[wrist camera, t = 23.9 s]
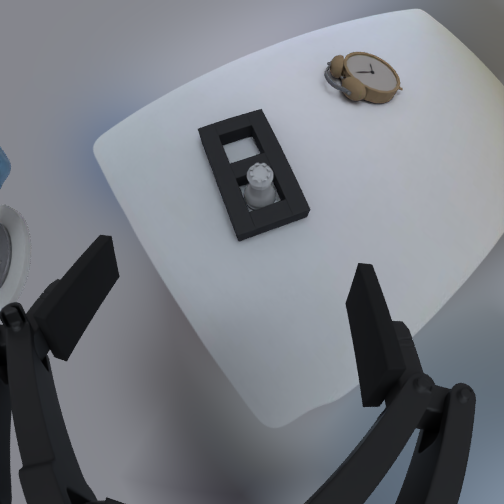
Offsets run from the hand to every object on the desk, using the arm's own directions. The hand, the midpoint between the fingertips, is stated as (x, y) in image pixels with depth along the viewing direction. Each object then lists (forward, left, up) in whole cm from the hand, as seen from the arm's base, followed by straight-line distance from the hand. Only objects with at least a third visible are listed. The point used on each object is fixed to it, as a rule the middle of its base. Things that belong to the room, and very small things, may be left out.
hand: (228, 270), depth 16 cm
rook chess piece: (+7, +13, -26) cm, 30 cm away
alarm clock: (+33, +29, -26) cm, 51 cm away
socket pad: (+7, +17, -26) cm, 31 cm away
